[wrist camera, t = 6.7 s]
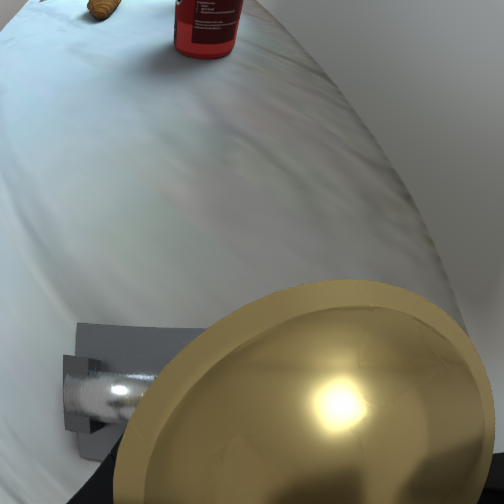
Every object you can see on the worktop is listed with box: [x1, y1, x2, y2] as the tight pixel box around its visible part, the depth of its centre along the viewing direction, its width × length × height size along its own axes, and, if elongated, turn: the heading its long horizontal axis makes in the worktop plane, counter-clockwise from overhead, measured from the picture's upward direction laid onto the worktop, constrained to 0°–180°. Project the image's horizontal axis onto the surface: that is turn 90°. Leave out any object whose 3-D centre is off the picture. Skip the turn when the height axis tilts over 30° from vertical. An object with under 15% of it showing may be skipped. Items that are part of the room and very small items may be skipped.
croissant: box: [87, 0, 121, 20], centre depth 33 cm, size 14×7×5 cm, turn 16°
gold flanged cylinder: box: [113, 279, 495, 504], centre depth 8 cm, size 5×5×13 cm
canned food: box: [174, 0, 243, 59], centre depth 26 cm, size 8×8×11 cm
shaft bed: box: [63, 323, 207, 461], centre depth 15 cm, size 19×9×3 cm, turn 93°
